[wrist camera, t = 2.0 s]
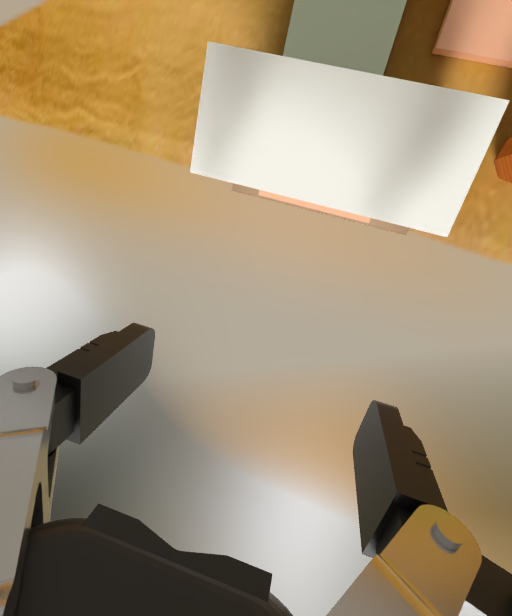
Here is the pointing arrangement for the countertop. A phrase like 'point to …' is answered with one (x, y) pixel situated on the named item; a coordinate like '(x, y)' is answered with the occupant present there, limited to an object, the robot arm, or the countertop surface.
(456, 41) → the terracotta tile
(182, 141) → the countertop surface
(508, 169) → the carrot
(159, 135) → the countertop surface
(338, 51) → the sage tile
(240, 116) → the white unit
